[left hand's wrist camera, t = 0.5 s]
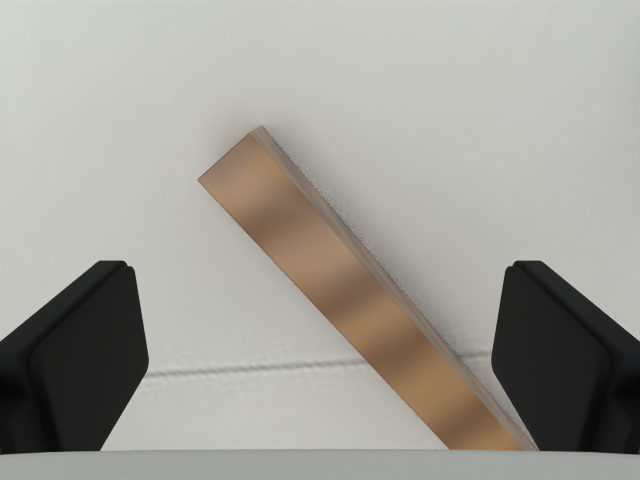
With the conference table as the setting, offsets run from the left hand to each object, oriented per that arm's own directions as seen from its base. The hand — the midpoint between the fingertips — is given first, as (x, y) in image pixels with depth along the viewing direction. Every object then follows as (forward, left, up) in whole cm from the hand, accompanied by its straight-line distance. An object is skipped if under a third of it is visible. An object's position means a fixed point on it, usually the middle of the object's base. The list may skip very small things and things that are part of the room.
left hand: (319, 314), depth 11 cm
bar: (-11, -21, -25) cm, 34 cm away
